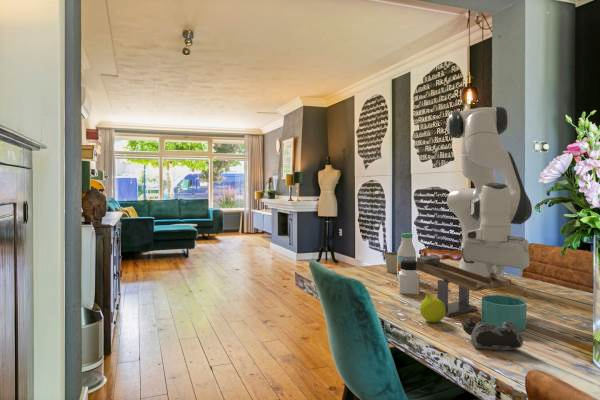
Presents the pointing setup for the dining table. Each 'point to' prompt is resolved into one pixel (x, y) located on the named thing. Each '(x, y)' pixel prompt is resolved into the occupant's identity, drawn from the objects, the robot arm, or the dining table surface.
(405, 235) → the milk bottle
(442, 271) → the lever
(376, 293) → the dining table surface
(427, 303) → the ornament
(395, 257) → the flower pot
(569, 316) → the dining table surface
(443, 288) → the lever stand
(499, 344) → the bison figurine
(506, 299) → the cup
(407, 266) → the medicine bottle
